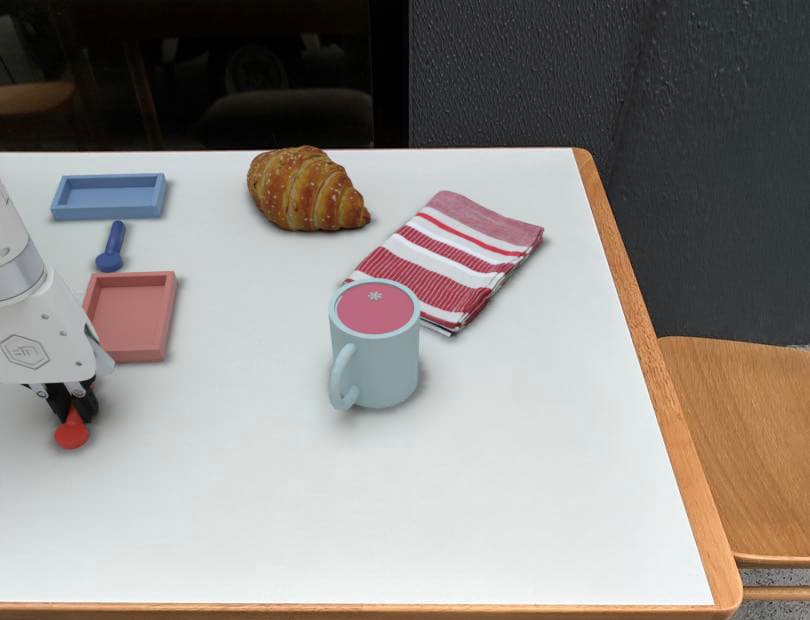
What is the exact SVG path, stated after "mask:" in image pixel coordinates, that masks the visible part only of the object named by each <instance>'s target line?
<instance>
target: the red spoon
mask: <svg viewBox="0 0 810 620" xmlns="http://www.w3.org/2000/svg"><path fill="white" fill-rule="evenodd" d="M90 387H91V389H92V390H93V388H94V382H93V383H92V385H91V386H90ZM89 437H90V433H89V430H88V428H87V427H86V425H85V423H84V421H83V419H82V418H81V417H80V415H79V414H78V412H77V410H76V409H75V407H74V405H73V404H72V402H71V406H70V410H69V413H68V417H67V421H66V423H64V424H62V423H61V424H60V425H59V426H58V427H57V428H56V429H55V431H54V434H53V438H54V441H55V442H56V443H57V445H58V446H59V447H60V448H61V449H64V450H75V449H78V448H80V447H82V446H83V445H85V444H86V443H87V442H88V440H89Z"/></svg>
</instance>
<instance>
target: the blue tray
mask: <svg viewBox="0 0 810 620" xmlns="http://www.w3.org/2000/svg"><path fill="white" fill-rule="evenodd" d="M167 189H168V182H167V180H166V175H165V173H164V172H148V173H147V172H145V173H144V172H143V173H141V172H140V173H107V174H106V173H105V174H72V175H71V174H70V175H67V174H66V175H61V178H60V181H59V183H58V186H57V188H56V191H55V194H54V197H53V199H52V203H51V205H50V207H49V210H50V212H51V214H52V216H53V218H54V221H56V222H59V221H91V220H94V221H95V220H127V219H128V220H130V219H157V218H158V219H159V218H161V216H162V211H163V205H164V202H165V197H166V193H167Z"/></svg>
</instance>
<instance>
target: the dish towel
mask: <svg viewBox="0 0 810 620" xmlns="http://www.w3.org/2000/svg"><path fill="white" fill-rule="evenodd" d="M544 232H545V227H543V226H541V225H536V224H533V223H529V222H525V221H521V220H518V219H515V218H511V217H507V216H504V215H502V214H500V213H498V212H496V211H494V210H492V209H488V208H487V207H485V206H483V205H481V204H479V203H478V202H475V201H474V200H472V199H470V198H469V197H467V196H465V195H463V194H460V193H459V192H455V191H451V190H447V189H442V190H439V191H438V192H437V193H435V194H434V196H433V197H432V198H431V199H430V200H429V201H427V203H426V204H425V205H424V206H423V208H422V209H420V210H419V211H418V212H417V213H416V214H415V215H413V216H412V217H411V218H410V220H408V221H407V222H406V223H405V224H404V225H401V226H400V227H399V228H398V229H397V230H396V231H395V232H393V234H392V235H390V236H389V237H388V238H387V239H386V240H384V241H383V242H382V243H381V244H380V245H379V246H377V247H376V248H375V249H373V251H372V252H370V253H369V254H368V255H367V256H366V257H364V259H363V260H361V262H360V263H359V264H358V265H357V266H356V268H355V269H354V270H353V271H352V272H351V274H350V275H349V276H348V277H346V278H345V280H344V281H343V282H342V284H341V287H342V286H344V285H346V284H348V283H350V282H353V281H356V280H360V279H367V278H382V279H388V280H392V281H396V282H398V283H401V284H403V285H404V286H406V287H408V288H409V289H410V290H411V291H412V292H413V293H414V294H415V295H416V296H417V298H418V300H419V303H420V326H423V327H425V328H427V329H430V330H432V331H434V332H437V333H438V334H441V335H443V336H444V337H447V338H451V336H452V335H454V334H457V333H459V332H460V331H461V330H462V329H464V328H465V327H467V326H468V325H469V324H470V323H471V322H472V321H473V319H475V318H476V316H477V315H479V313H481V311H482V310H483V309H484V308H485V306H486V305H487V304H488V302H489V301H490V299H491V298H492V297H493V296H494V295H495V294H496V293H497V291H499V290H500V288H502V287H503V286H504V285H505V283H506V282H508V280H509V279H510V277H512V275H513V274H514V273H515V272H516V271H517V269H519V267H521V265H522V264H523V263H524V262H525V261H526V260H527V259H528V258H529V257H530V255H531V254H532V253H533V252H534V251H535V250H536V249H538V248H540V246H541V245H543V243H544V237H543V235H544Z"/></svg>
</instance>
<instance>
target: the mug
mask: <svg viewBox="0 0 810 620" xmlns="http://www.w3.org/2000/svg"><path fill="white" fill-rule="evenodd" d="M327 313H328V321H329V330H330V340H331V349H332V359H333V366H332V369H331V373H330V377H329V381H328V382H329V383H328V398H329V401H330V404H331V406H332V407H333V408H334V409H335V410H337V411H339V412H342V411H343V412H344V411H347V410H348V409H350V408H351V407H352V406H353V405H357V406H360V407H363V408H367V409H385V408H390V407H393V406H394V407H395V406H397V405H399V404H402V403H403V402H405V401H406V400H407V399H409V398H410V397H411V396H412V395H413V393H414V392H415V391H416V390H417V386H418V383H419V359H420V358H419V356H420V328H421V327H420V326H421V324H420V303H419V300H418V298H417V296H416V295H415V294H414V293H413V292H412V291H411V290H410V289H409V288H408V287H406V286H404V285H403V284H401V283H398V282H396V281H392V280H388V279H382V278H367V279H360V280H356V281H353V282H350V283H348V284H346V285H344V286H342V285H341V287H340V288H338V289H337V290H336V291H335V292H334V293H333V294H332V295H331V297H330V298H329V301H328V305H327ZM342 397H343V398H342Z"/></svg>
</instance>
